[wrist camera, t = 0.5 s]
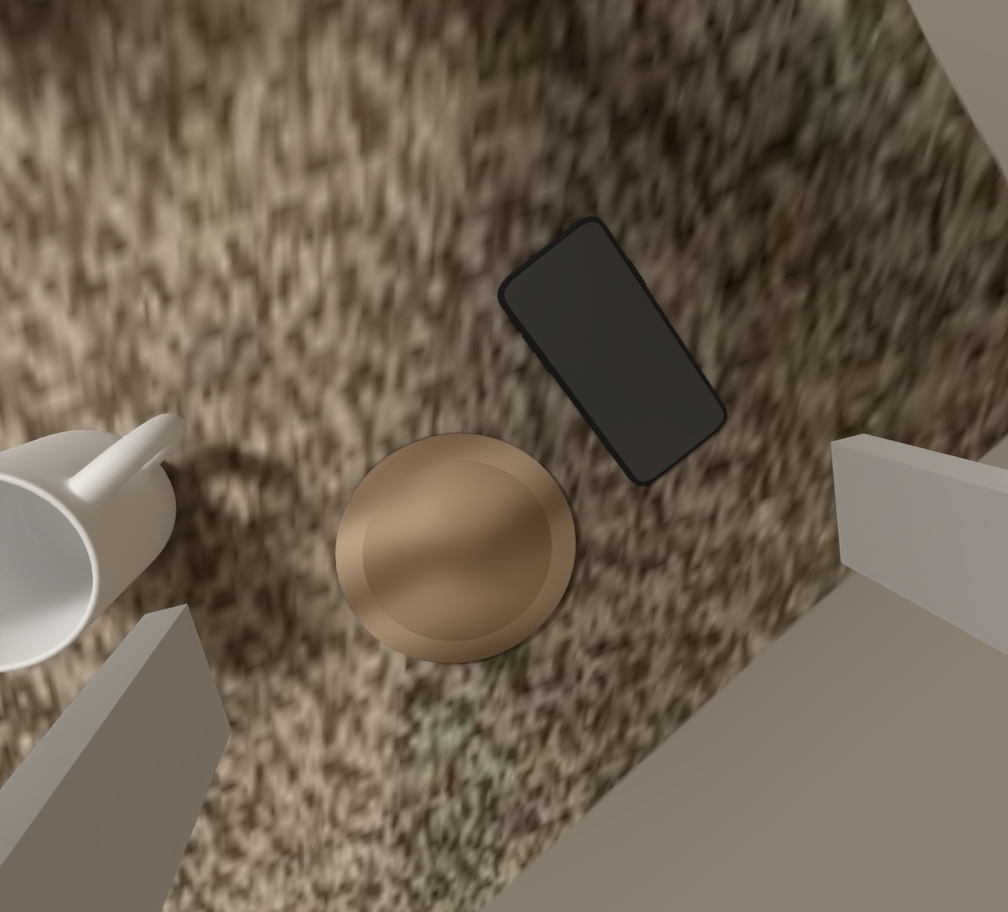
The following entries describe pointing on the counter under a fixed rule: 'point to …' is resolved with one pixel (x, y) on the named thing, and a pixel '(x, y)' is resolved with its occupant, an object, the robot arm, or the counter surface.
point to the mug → (78, 530)
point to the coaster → (455, 548)
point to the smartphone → (612, 350)
